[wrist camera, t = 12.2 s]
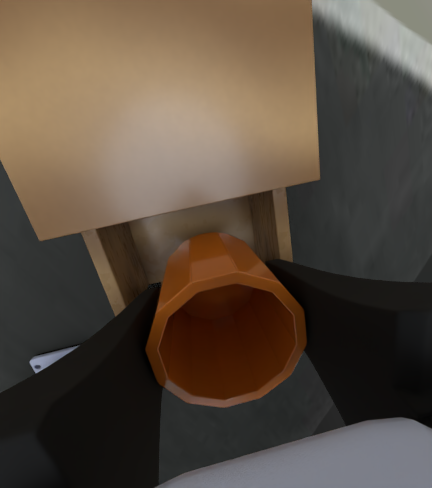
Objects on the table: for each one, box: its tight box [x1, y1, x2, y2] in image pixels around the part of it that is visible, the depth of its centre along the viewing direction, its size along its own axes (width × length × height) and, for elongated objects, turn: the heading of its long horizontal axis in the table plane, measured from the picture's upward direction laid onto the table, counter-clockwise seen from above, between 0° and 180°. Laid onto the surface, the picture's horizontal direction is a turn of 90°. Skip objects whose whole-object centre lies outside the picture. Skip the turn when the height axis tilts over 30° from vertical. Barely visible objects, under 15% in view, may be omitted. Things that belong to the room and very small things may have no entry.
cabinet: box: [0, 0, 320, 241], centre depth 12 cm, size 16×14×9 cm
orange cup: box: [145, 232, 307, 408], centre depth 10 cm, size 5×5×5 cm
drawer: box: [81, 187, 293, 316], centre depth 16 cm, size 19×12×7 cm, turn 11°
